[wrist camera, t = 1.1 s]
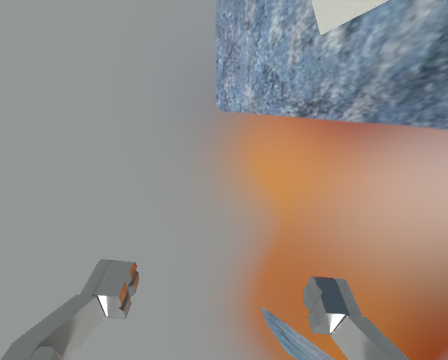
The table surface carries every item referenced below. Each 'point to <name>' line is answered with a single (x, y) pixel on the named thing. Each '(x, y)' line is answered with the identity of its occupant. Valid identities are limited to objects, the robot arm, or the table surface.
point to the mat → (340, 11)
